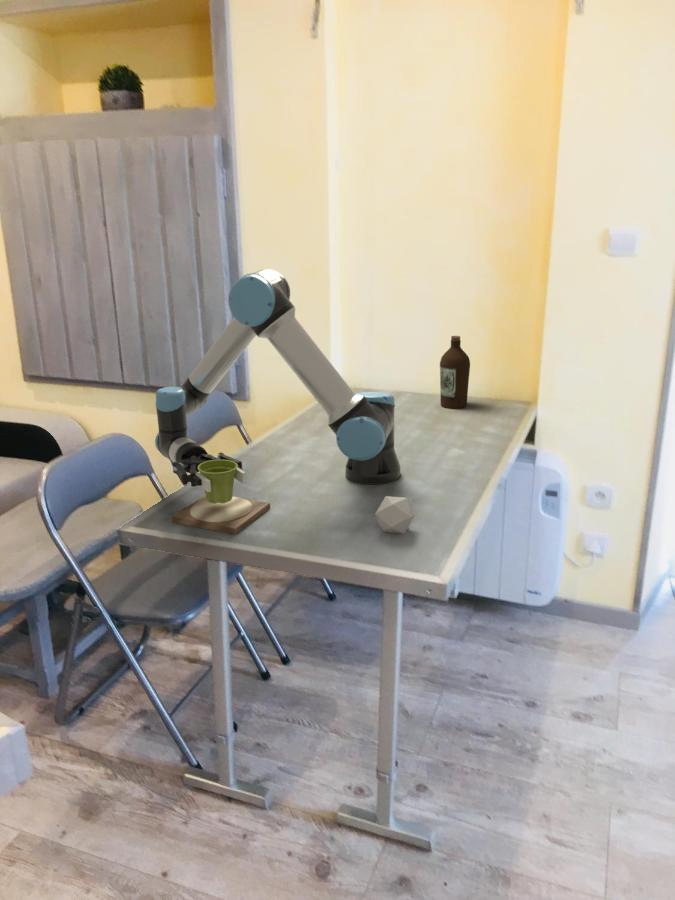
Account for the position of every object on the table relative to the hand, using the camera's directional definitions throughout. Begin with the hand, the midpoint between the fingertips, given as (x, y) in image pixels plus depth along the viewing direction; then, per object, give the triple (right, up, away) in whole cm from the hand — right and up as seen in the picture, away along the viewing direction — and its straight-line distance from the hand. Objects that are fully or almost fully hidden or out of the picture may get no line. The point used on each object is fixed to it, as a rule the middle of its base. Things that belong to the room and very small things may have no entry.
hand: (226, 482), depth 176 cm
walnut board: (-2, -8, +7) cm, 11 cm away
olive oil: (+68, +24, +95) cm, 119 cm away
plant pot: (-3, -5, +6) cm, 8 cm away
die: (+39, -11, -3) cm, 41 cm away
